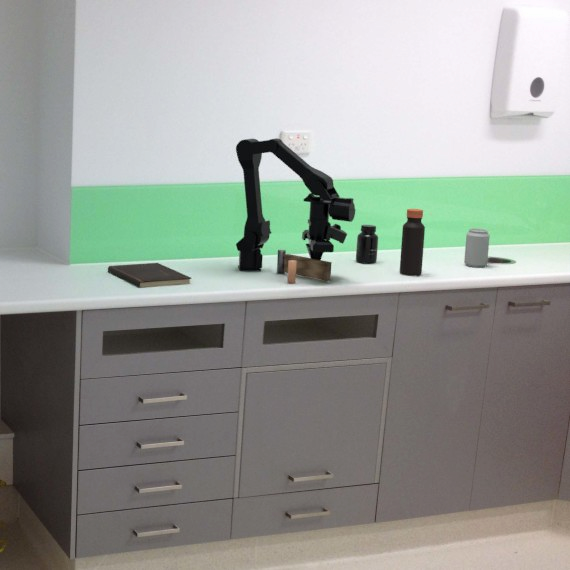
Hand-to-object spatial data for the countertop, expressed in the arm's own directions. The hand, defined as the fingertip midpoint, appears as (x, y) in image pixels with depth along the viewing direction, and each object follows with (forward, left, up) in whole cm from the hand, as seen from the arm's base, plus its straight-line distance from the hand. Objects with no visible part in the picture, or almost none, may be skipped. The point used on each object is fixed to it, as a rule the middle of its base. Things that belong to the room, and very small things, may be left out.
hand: (315, 269), depth 319 cm
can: (+57, +23, -3) cm, 62 cm away
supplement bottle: (+21, +26, -3) cm, 33 cm away
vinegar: (+31, +8, -3) cm, 32 cm away
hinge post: (-10, +6, -3) cm, 11 cm away
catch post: (-8, -8, -3) cm, 12 cm away
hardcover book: (-50, -3, -3) cm, 50 cm away
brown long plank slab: (-3, -2, -2) cm, 4 cm away
